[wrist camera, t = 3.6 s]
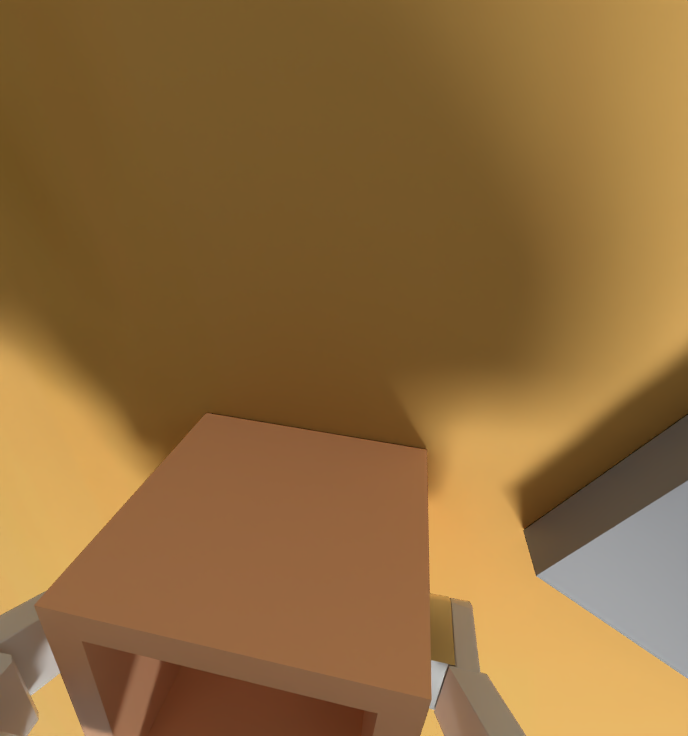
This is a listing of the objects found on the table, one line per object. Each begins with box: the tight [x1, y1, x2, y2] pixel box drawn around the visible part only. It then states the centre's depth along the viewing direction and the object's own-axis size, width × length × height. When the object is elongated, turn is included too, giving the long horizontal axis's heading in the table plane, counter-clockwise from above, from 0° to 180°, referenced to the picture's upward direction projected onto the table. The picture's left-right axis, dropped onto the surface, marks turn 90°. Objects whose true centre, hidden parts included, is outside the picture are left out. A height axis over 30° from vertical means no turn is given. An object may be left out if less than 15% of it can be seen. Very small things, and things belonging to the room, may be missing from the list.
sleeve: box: [34, 413, 432, 736], centre depth 10 cm, size 6×6×6 cm
